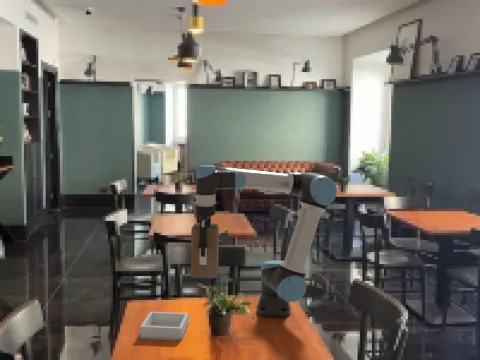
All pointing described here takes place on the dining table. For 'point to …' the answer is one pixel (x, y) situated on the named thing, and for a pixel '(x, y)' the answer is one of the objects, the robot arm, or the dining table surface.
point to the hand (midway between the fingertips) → (205, 260)
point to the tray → (164, 326)
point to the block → (212, 252)
